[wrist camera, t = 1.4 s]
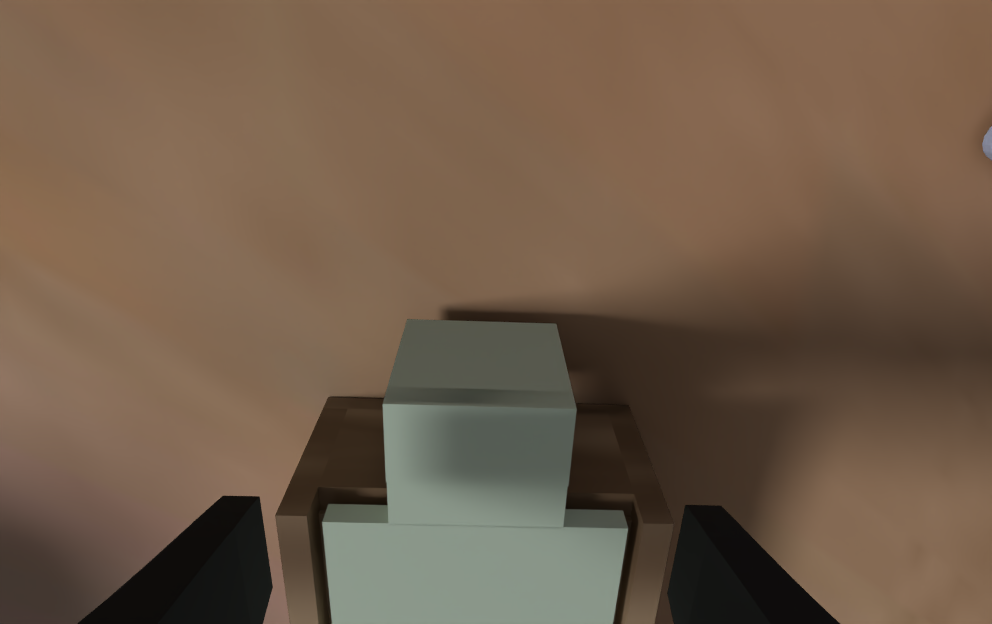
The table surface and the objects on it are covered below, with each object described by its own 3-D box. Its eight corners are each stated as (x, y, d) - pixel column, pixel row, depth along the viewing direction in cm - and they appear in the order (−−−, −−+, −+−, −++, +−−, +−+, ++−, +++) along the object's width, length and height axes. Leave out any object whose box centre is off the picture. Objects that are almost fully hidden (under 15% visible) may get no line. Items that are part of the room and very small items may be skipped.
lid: (563, 714, 23) (578, 848, 19) (375, 711, 23) (352, 846, 19) (611, 325, 17) (648, 410, 13) (350, 317, 16) (309, 401, 13)
